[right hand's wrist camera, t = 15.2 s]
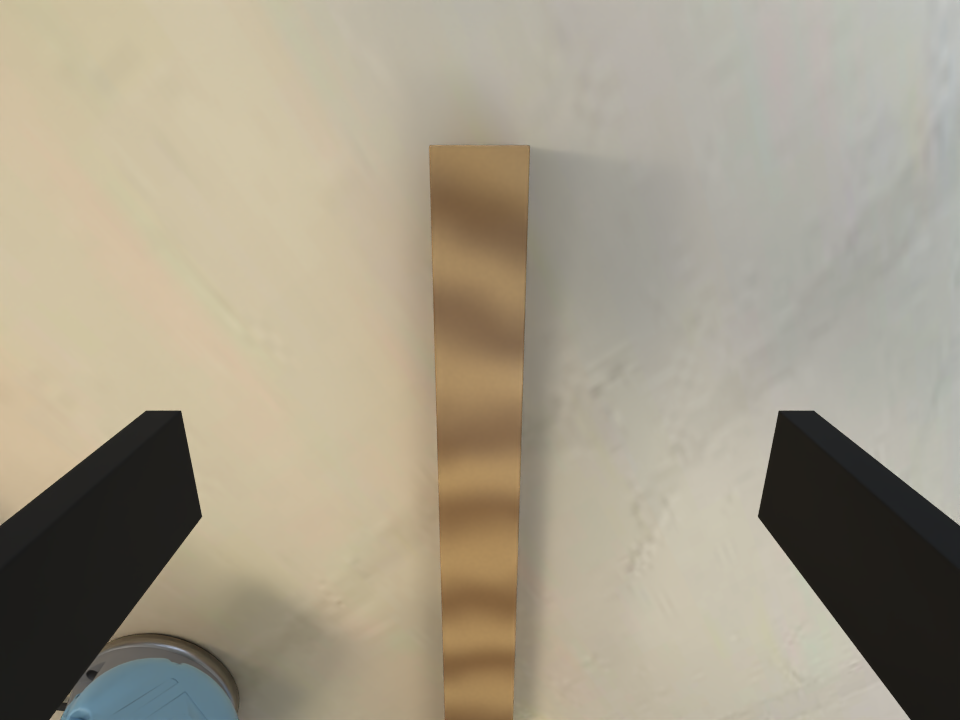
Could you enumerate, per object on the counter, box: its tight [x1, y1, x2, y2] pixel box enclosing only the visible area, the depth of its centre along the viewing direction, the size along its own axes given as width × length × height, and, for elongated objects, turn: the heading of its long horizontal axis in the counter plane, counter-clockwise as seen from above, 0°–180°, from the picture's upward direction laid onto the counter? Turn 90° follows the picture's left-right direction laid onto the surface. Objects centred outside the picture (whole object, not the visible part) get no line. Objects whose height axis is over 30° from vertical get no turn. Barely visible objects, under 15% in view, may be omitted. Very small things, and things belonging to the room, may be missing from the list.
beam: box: [429, 145, 530, 720], centre depth 48 cm, size 65×6×8 cm, turn 0°
